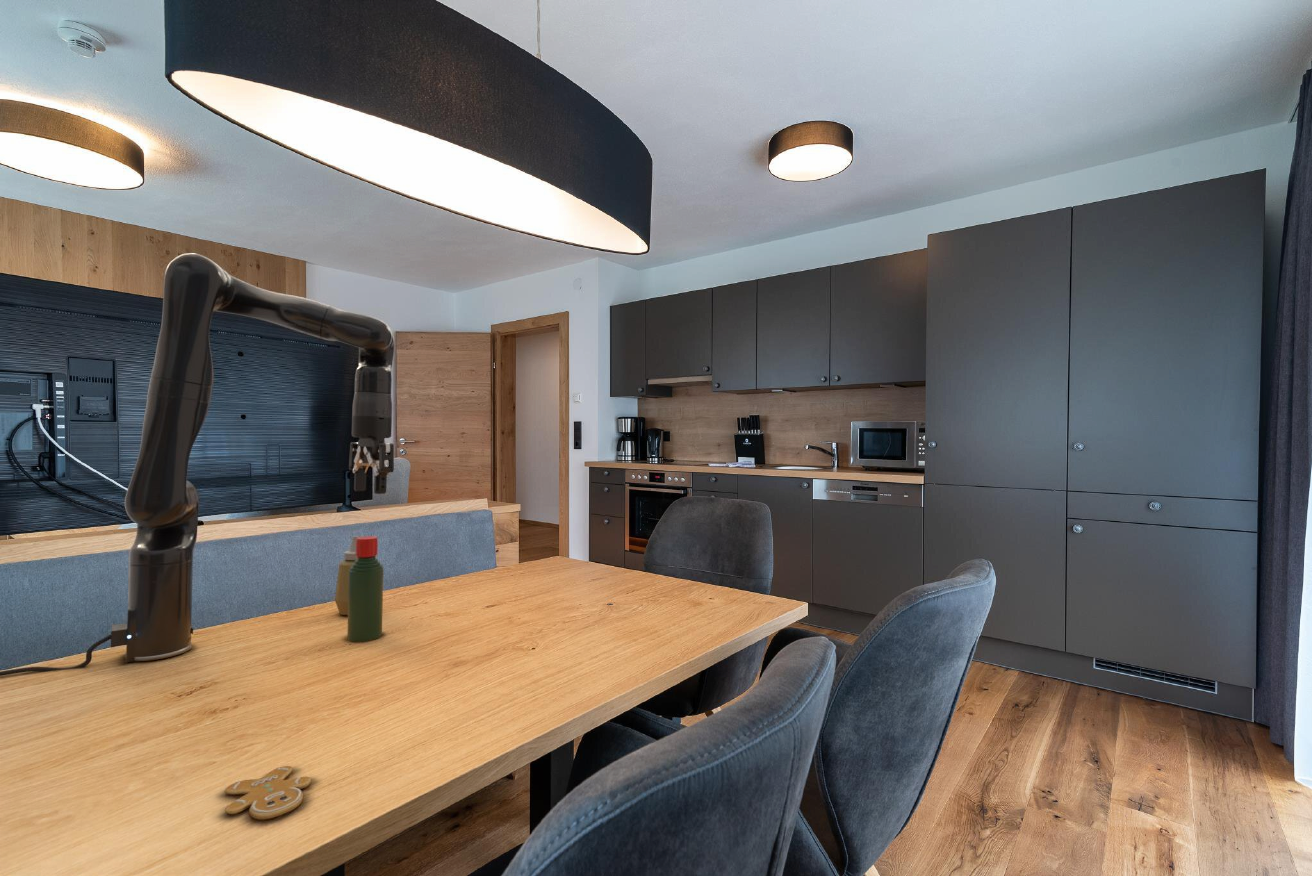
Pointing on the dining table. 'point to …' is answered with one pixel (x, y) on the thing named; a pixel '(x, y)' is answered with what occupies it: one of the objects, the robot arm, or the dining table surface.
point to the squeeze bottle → (345, 578)
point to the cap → (366, 546)
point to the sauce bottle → (365, 599)
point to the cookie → (268, 794)
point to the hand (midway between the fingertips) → (369, 492)
